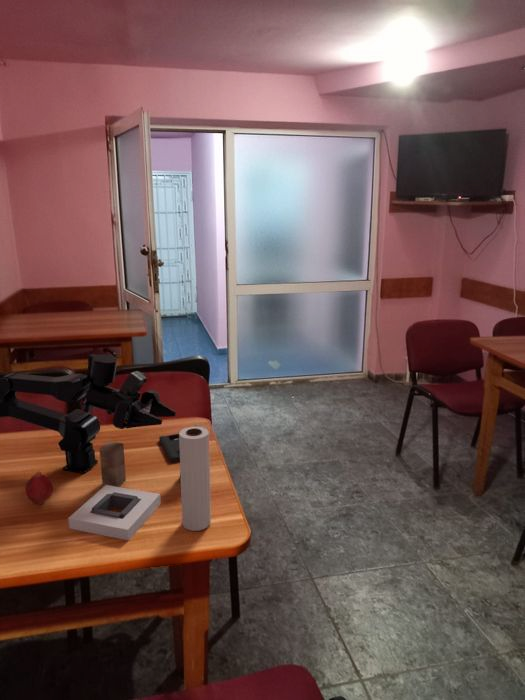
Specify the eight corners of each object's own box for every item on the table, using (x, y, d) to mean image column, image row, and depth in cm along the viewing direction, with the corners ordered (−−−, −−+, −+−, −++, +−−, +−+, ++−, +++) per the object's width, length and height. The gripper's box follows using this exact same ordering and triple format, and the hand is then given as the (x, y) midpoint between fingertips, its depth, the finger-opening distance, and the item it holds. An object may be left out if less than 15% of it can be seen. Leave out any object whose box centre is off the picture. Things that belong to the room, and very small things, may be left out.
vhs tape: (199, 459, 140) (199, 453, 140) (170, 465, 137) (170, 458, 137) (186, 438, 153) (186, 432, 152) (159, 443, 150) (159, 436, 149)
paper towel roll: (198, 535, 107) (196, 440, 101) (176, 525, 110) (172, 433, 104) (219, 518, 113) (218, 427, 107) (197, 509, 116) (195, 421, 110)
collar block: (69, 528, 109) (68, 515, 108) (106, 494, 122) (105, 482, 121) (128, 540, 105) (127, 527, 104) (160, 503, 118) (160, 492, 117)
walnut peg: (102, 486, 125) (99, 448, 123) (111, 478, 129) (108, 441, 126) (117, 488, 124) (114, 450, 122) (125, 480, 128) (123, 443, 125)
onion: (28, 513, 114) (24, 480, 112) (26, 500, 119) (22, 469, 117) (56, 506, 117) (52, 474, 115) (53, 494, 122) (49, 463, 120)
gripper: (99, 372, 117) (162, 392, 115) (134, 364, 136) (189, 381, 133) (88, 419, 119) (150, 439, 116) (124, 404, 137) (179, 421, 135)
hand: (168, 418), depth 125 cm, fingers open, 9 cm apart
